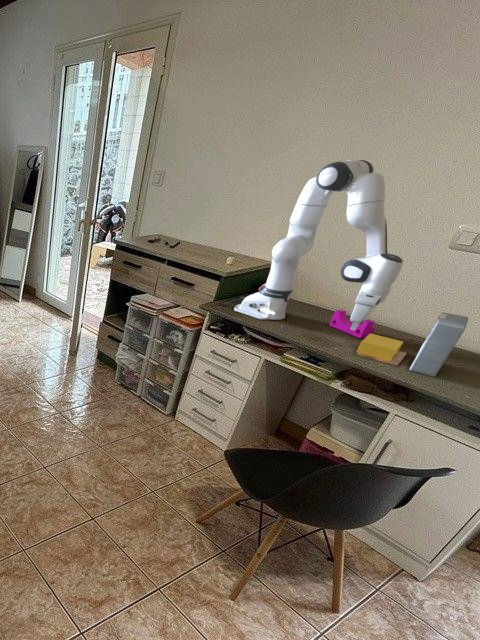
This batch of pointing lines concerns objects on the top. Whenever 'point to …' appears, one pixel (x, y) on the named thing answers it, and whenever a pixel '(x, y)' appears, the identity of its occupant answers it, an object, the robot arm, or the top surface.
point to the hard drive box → (439, 343)
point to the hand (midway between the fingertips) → (356, 326)
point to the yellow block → (380, 347)
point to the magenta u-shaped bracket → (345, 325)
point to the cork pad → (394, 361)
